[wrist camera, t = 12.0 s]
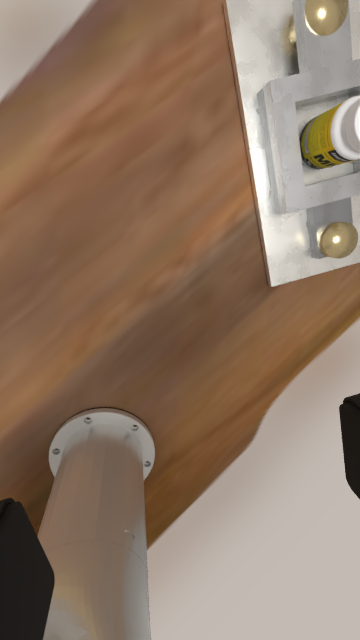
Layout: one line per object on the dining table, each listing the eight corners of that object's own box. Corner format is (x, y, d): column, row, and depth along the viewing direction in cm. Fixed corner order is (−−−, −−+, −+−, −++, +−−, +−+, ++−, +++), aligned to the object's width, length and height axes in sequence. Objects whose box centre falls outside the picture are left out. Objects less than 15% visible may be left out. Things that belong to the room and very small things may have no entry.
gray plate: (381, 253, 38) (411, 257, 34) (267, 285, 37) (284, 293, 33) (369, -28, 29) (406, -67, 25) (222, 5, 29) (237, -30, 25)
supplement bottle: (293, 170, 33) (344, 154, 25) (297, 116, 31) (354, 81, 23) (337, 170, 33) (402, 154, 25) (344, 118, 32) (414, 84, 24)
